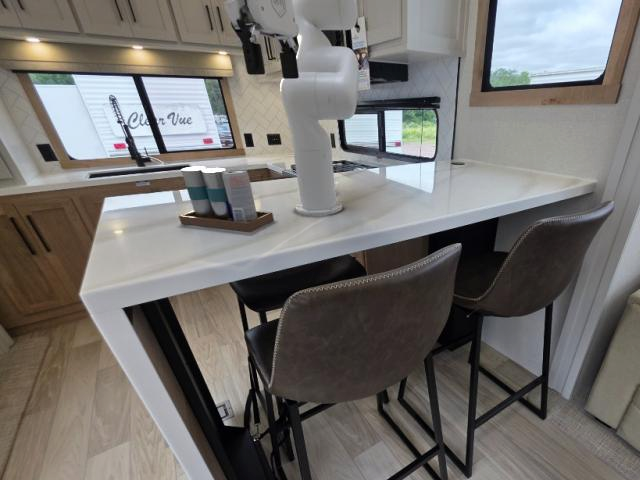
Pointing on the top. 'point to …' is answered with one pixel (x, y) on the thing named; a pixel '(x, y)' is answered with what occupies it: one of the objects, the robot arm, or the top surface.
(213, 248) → the top surface
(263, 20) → the robot arm
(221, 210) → the can
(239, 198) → the energy drink
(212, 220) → the drinks tray
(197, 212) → the can
